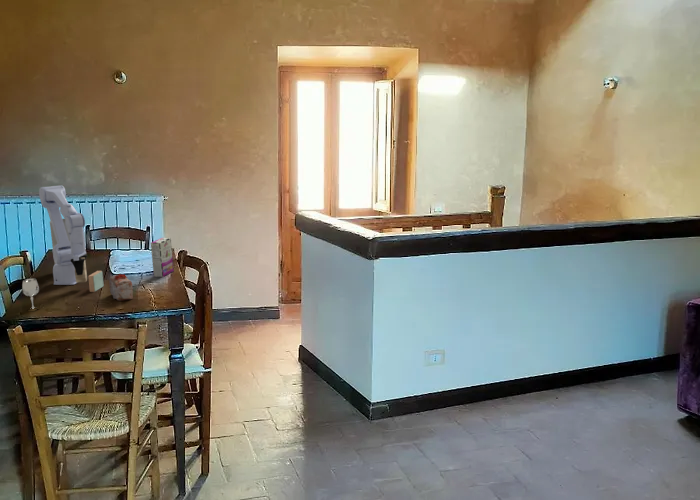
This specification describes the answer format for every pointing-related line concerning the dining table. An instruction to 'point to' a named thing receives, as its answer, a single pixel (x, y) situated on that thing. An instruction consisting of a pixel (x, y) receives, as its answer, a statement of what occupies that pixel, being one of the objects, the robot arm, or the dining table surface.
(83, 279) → the beech stick
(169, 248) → the candy bar box
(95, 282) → the terracotta tile
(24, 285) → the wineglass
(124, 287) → the food item
